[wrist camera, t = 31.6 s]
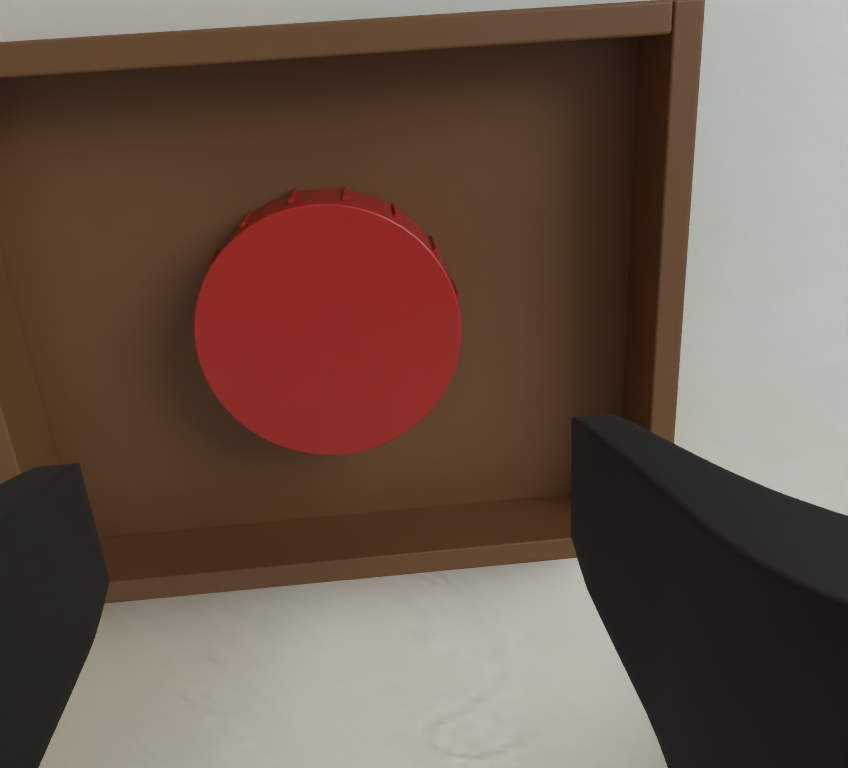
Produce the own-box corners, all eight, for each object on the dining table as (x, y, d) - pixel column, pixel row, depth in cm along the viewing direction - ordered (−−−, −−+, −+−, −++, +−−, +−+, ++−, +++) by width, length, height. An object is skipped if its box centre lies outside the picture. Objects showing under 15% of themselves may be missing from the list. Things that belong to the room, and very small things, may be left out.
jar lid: (449, 178, 18) (459, 192, 16) (457, 411, 20) (466, 447, 18) (188, 194, 17) (170, 210, 16) (226, 429, 20) (213, 466, 18)
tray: (68, 549, 21) (34, 610, 19) (-71, 50, 16) (-141, 51, 14) (635, 496, 22) (667, 549, 20) (659, 3, 17) (706, -3, 15)
